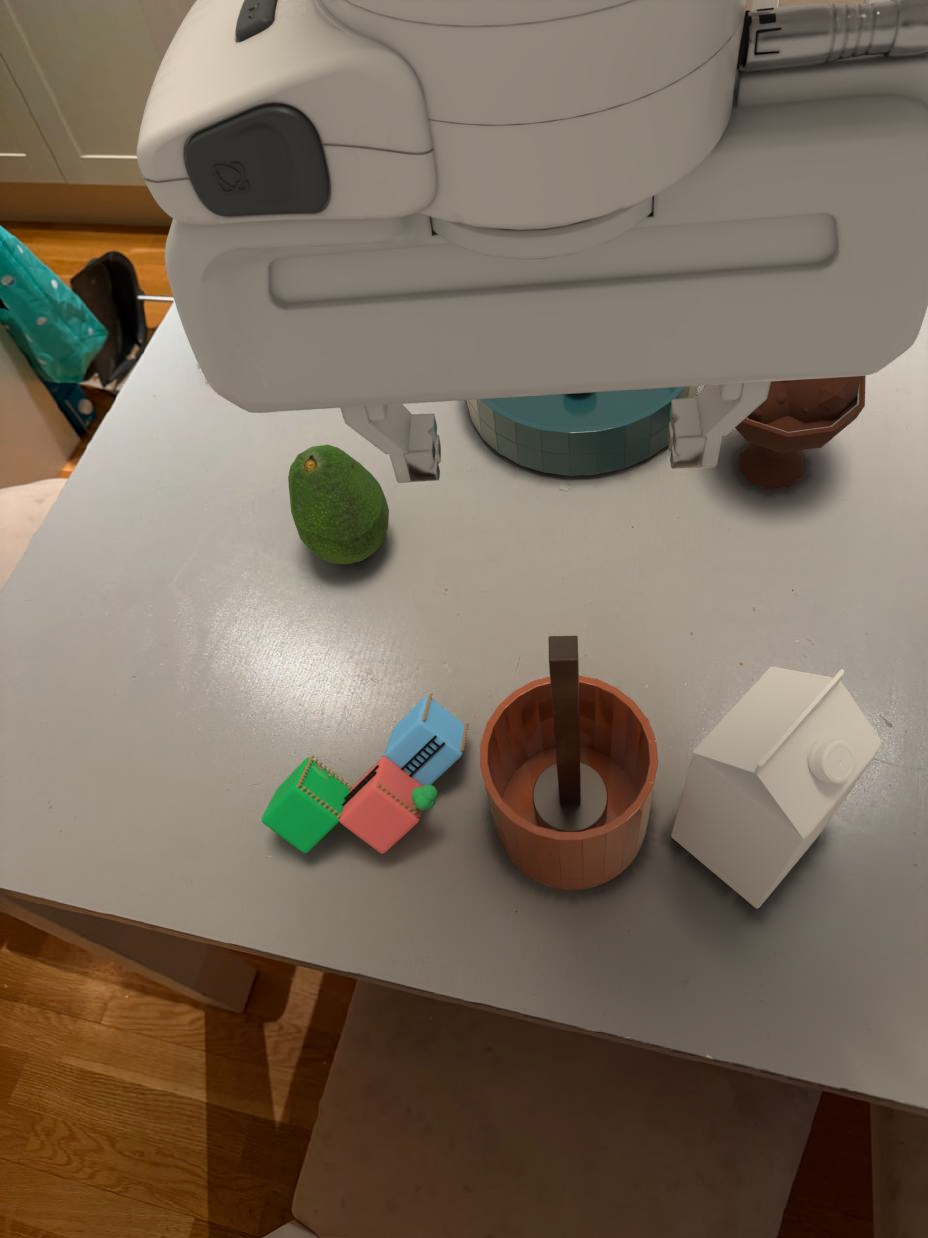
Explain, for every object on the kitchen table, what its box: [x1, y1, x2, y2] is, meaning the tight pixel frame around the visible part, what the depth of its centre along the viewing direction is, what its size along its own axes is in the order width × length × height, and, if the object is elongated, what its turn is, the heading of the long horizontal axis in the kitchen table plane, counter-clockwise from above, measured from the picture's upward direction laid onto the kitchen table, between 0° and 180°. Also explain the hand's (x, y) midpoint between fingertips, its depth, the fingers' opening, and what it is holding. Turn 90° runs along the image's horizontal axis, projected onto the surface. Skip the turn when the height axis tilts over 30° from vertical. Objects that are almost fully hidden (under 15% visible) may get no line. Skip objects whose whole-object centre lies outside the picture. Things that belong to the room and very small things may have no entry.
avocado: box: [287, 444, 390, 565], centre depth 72 cm, size 8×8×12 cm
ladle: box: [533, 635, 608, 832], centre depth 52 cm, size 5×5×23 cm
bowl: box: [466, 386, 698, 477], centre depth 81 cm, size 21×21×6 cm
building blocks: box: [260, 692, 470, 855], centre depth 62 cm, size 8×8×12 cm
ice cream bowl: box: [734, 375, 867, 491], centre depth 70 cm, size 11×11×15 cm
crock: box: [479, 674, 659, 891], centre depth 58 cm, size 11×11×11 cm
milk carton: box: [670, 666, 883, 910], centre depth 52 cm, size 7×7×19 cm
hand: (553, 461), depth 31 cm, fingers open, 8 cm apart
